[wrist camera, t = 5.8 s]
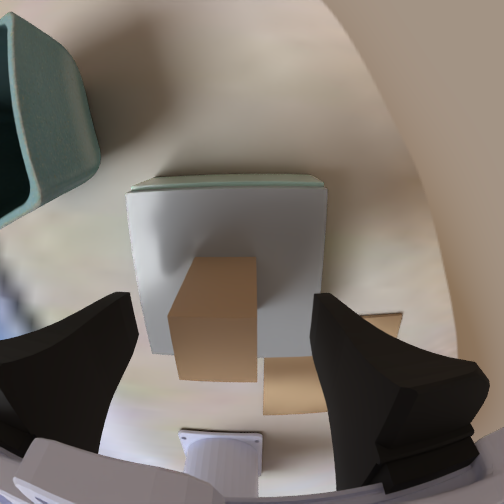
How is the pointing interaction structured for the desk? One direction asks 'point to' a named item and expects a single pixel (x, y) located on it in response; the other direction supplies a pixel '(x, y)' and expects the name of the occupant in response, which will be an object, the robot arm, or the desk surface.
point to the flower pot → (40, 121)
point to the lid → (227, 273)
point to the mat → (305, 377)
